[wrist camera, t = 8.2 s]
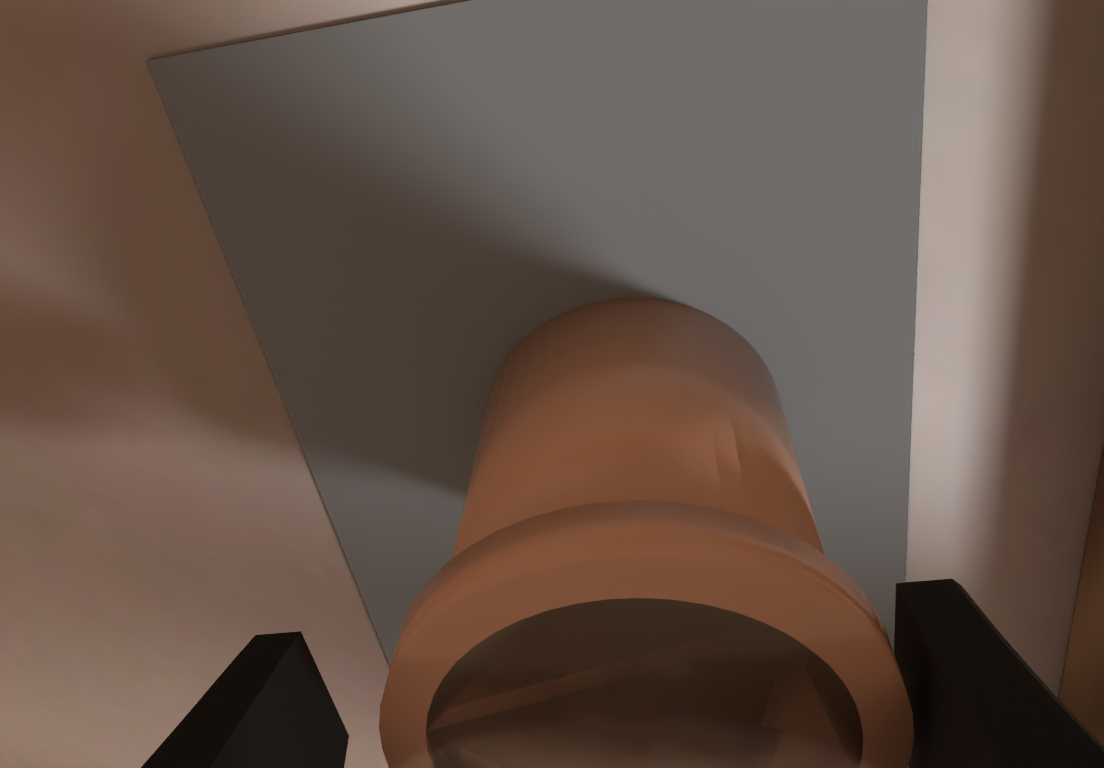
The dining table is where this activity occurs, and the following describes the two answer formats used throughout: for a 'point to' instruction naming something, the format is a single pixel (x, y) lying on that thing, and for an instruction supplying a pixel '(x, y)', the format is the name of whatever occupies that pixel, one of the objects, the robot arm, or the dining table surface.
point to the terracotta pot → (640, 573)
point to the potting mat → (567, 233)
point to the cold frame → (1088, 630)
